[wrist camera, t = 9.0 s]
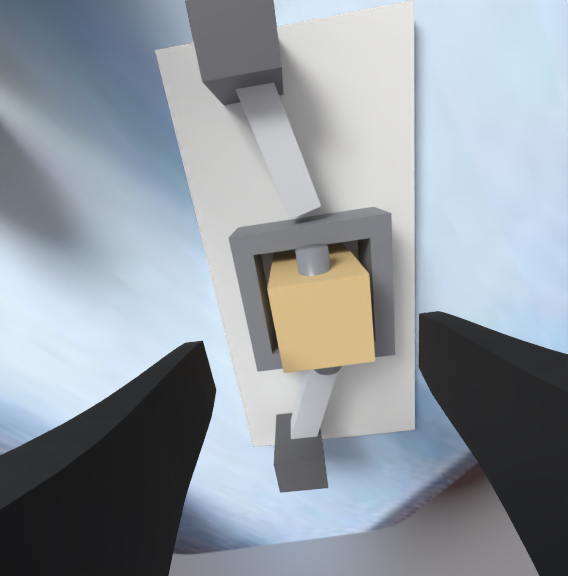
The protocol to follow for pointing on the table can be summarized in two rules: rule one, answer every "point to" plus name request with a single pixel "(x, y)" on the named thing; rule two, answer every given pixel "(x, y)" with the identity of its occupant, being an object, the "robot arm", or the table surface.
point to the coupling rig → (303, 202)
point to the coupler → (321, 308)
